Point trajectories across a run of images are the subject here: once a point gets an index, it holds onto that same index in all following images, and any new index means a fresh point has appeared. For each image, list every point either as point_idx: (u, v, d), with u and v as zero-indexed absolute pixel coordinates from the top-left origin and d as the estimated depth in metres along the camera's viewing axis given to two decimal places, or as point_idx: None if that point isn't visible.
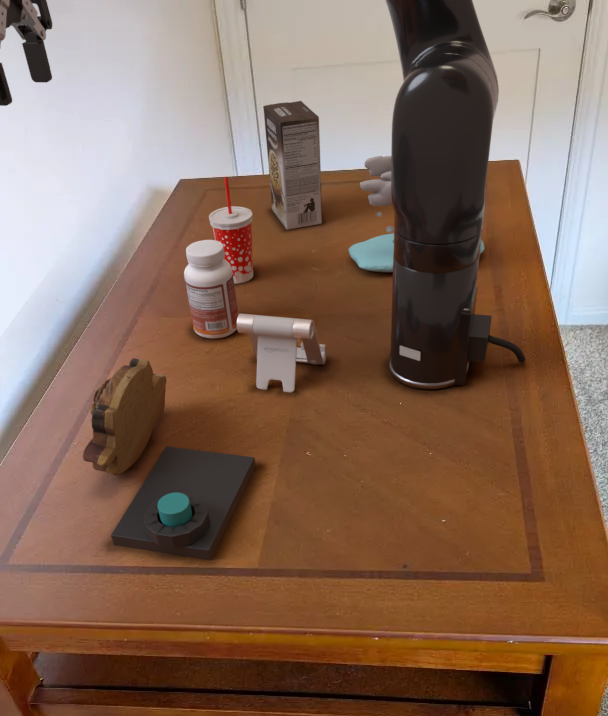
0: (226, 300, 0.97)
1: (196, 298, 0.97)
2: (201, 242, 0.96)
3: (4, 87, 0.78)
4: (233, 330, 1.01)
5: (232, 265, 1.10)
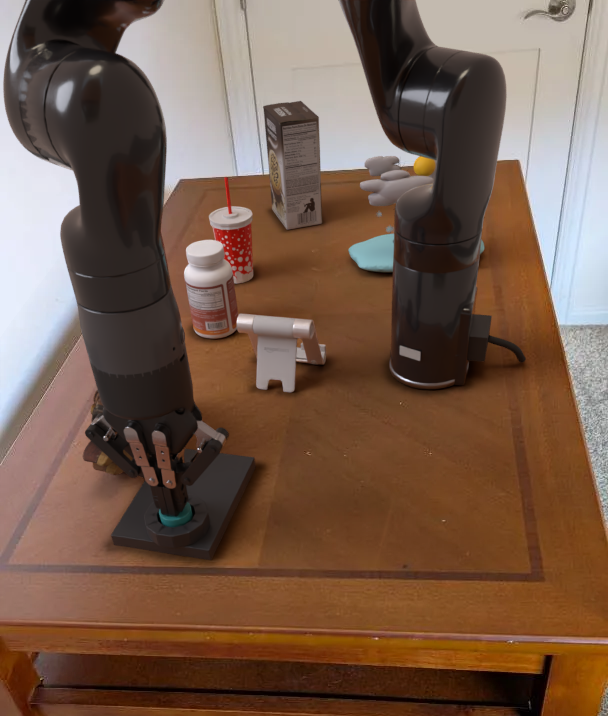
0: (226, 300, 0.97)
1: (196, 298, 0.97)
2: (201, 242, 0.96)
3: (159, 503, 0.70)
4: (233, 330, 1.01)
5: (232, 265, 1.10)
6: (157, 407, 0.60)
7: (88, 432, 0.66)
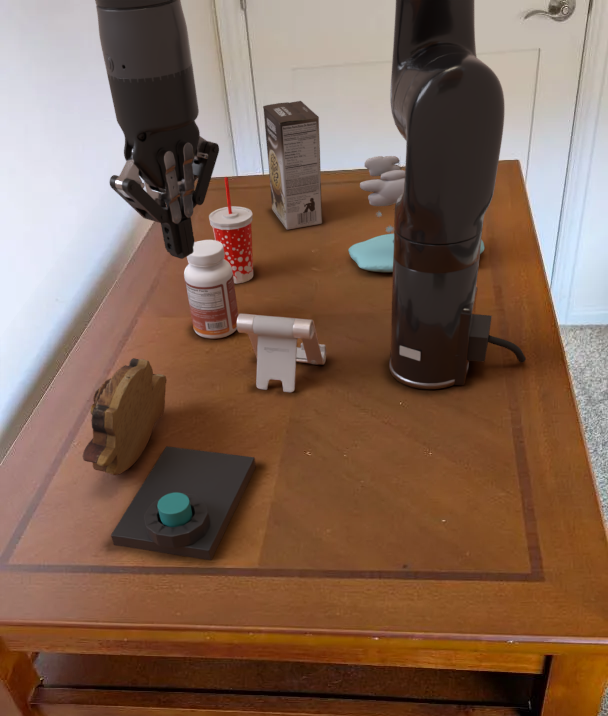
0: (226, 300, 0.97)
1: (196, 298, 0.97)
2: (201, 242, 0.96)
3: (181, 243, 0.77)
4: (233, 330, 1.01)
5: (232, 265, 1.10)
6: (197, 104, 0.70)
7: (130, 185, 0.69)
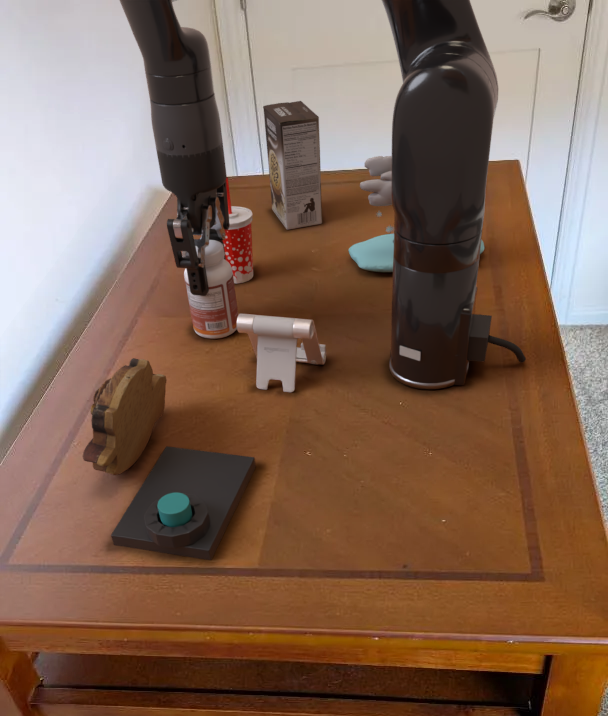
0: (226, 300, 0.97)
1: (196, 298, 0.97)
2: None
3: (205, 283, 0.94)
4: (233, 330, 1.01)
5: (232, 265, 1.10)
6: None
7: (188, 223, 0.86)
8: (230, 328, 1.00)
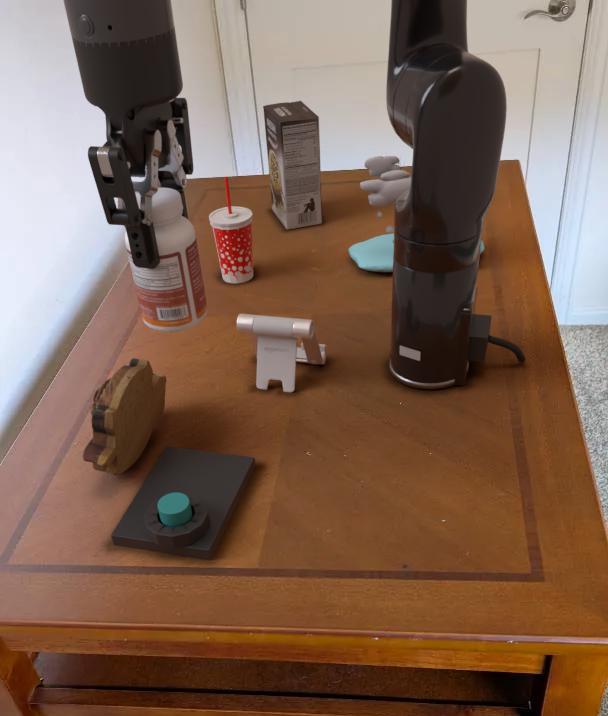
0: (185, 276, 0.67)
1: (142, 272, 0.67)
2: None
3: (153, 249, 0.64)
4: (198, 320, 0.71)
5: (232, 265, 1.10)
6: None
7: (120, 152, 0.56)
8: (193, 317, 0.70)
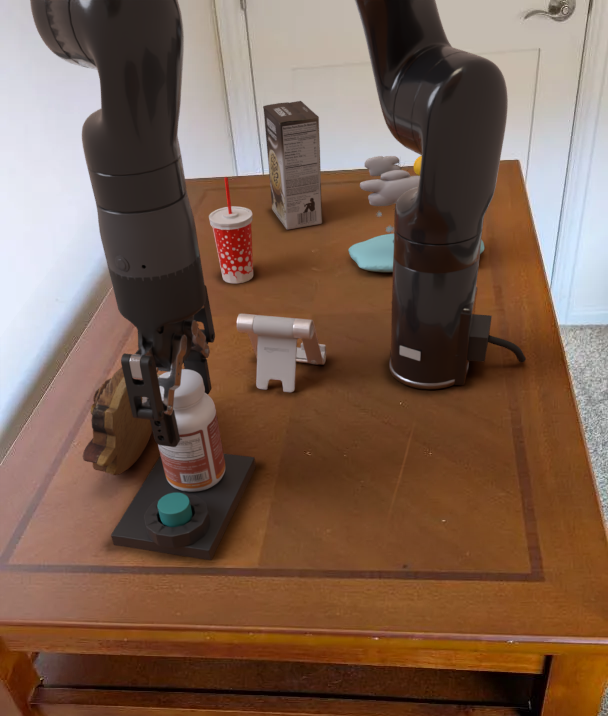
0: (207, 447, 0.74)
1: (167, 446, 0.73)
2: None
3: (174, 432, 0.69)
4: (217, 480, 0.77)
5: (232, 265, 1.10)
6: None
7: (151, 360, 0.62)
8: (213, 479, 0.76)
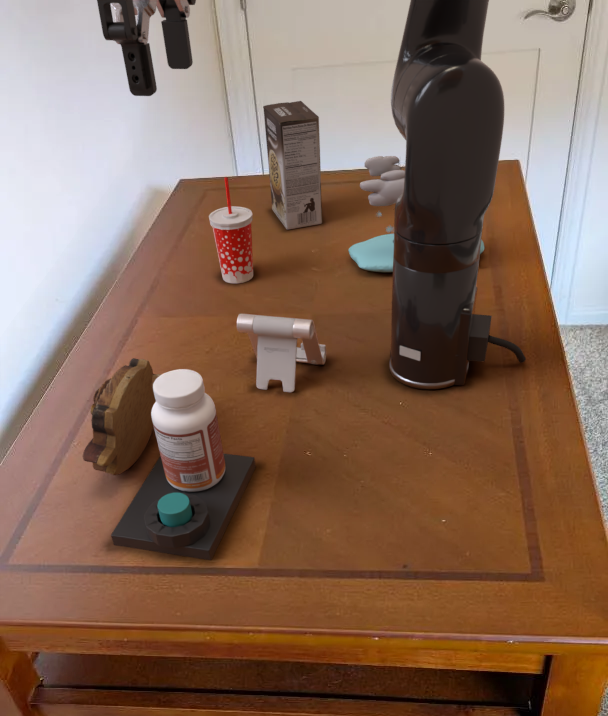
0: (207, 448, 0.74)
1: (167, 446, 0.73)
2: (174, 373, 0.72)
3: (150, 73, 0.64)
4: (217, 480, 0.77)
5: (232, 265, 1.10)
6: None
7: None
8: (213, 479, 0.76)
